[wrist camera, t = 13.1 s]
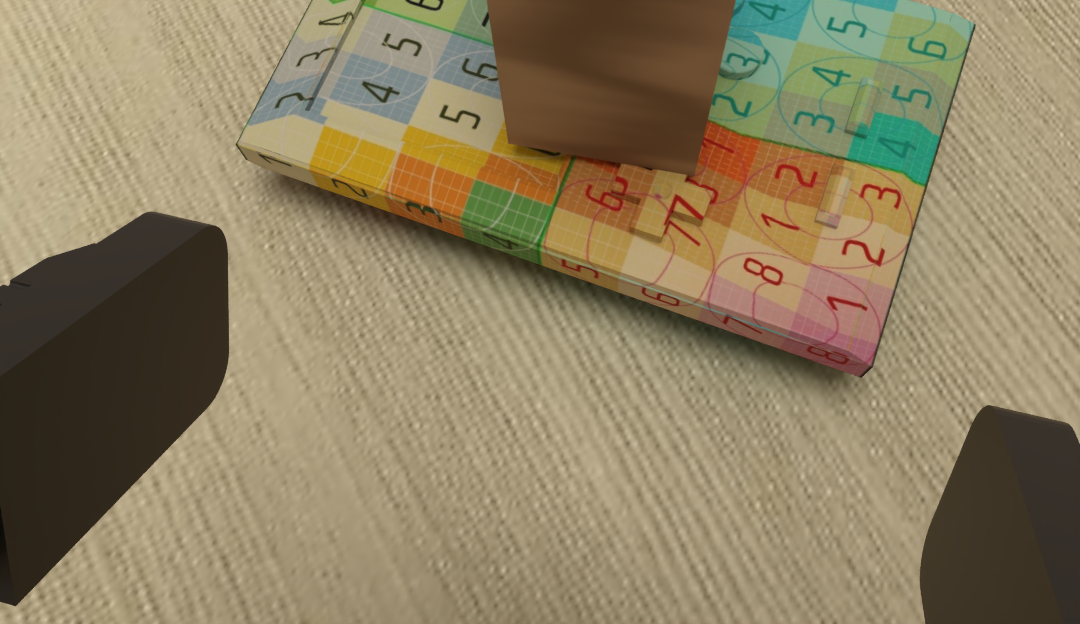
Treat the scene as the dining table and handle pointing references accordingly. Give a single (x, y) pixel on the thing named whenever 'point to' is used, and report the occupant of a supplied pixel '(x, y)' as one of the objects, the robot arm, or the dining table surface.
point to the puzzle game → (637, 192)
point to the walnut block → (610, 76)
